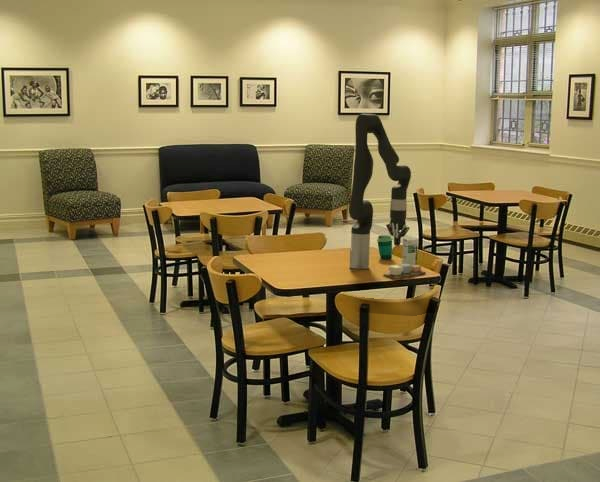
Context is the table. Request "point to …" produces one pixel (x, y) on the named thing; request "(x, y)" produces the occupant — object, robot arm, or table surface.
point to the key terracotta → (415, 268)
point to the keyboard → (404, 275)
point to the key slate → (406, 268)
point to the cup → (385, 247)
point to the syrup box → (410, 251)
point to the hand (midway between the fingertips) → (397, 245)
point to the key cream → (395, 270)
